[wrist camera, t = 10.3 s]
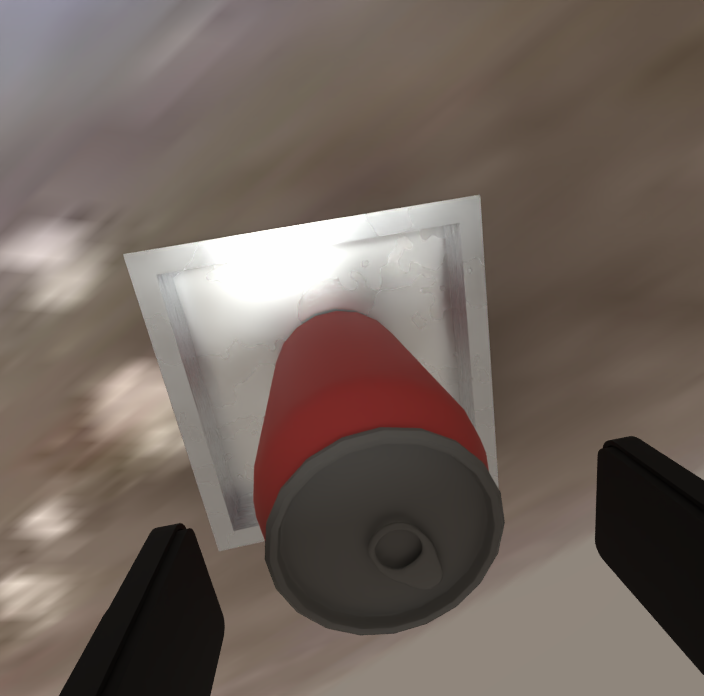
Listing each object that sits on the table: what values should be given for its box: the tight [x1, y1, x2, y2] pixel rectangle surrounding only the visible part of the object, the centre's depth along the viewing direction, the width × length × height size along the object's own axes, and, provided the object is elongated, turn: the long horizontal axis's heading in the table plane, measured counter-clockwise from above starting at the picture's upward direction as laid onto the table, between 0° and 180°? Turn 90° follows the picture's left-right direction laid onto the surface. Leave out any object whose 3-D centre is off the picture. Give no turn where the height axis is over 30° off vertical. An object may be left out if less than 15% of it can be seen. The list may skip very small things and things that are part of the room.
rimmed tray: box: [123, 195, 499, 551], centre depth 20 cm, size 15×15×3 cm
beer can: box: [253, 311, 505, 635], centre depth 15 cm, size 7×7×12 cm
